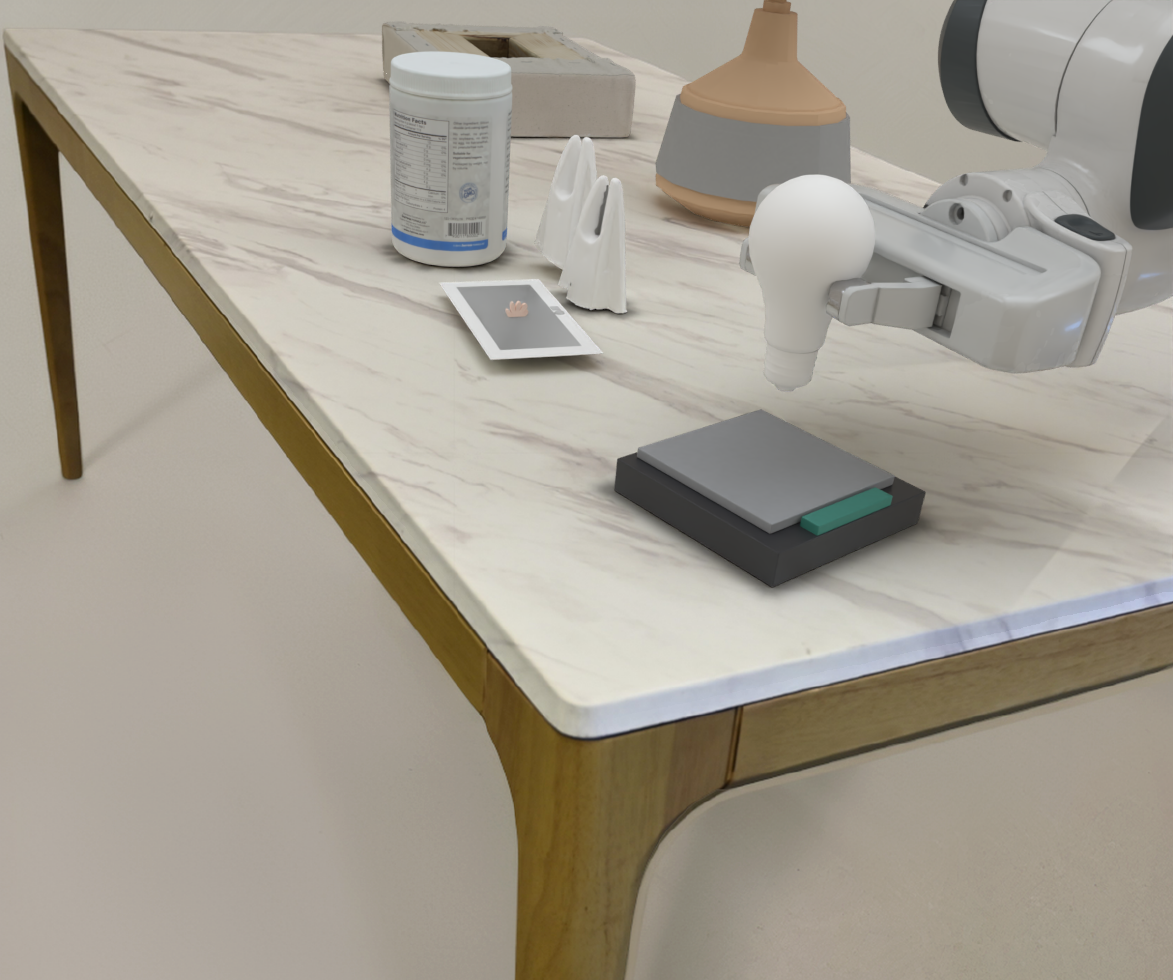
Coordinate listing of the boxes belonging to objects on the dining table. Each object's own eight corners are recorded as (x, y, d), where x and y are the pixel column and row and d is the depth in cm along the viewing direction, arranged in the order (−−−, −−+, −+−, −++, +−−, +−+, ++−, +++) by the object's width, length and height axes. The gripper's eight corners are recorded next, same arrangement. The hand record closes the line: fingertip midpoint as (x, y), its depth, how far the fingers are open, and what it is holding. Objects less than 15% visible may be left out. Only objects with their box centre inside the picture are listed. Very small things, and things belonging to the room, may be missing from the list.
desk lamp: (718, 171, 132) (772, -238, 112) (881, 210, 123) (970, -226, 104) (604, 207, 116) (644, -260, 97) (782, 255, 108) (864, -247, 88)
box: (378, 80, 159) (437, 138, 134) (378, 15, 155) (439, 62, 130) (547, 85, 167) (633, 140, 142) (551, 23, 163) (641, 69, 138)
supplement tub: (432, 227, 107) (433, 45, 99) (527, 249, 104) (537, 63, 96) (367, 253, 99) (363, 60, 91) (467, 279, 96) (472, 80, 88)
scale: (918, 523, 68) (929, 481, 66) (772, 587, 61) (780, 542, 59) (759, 441, 75) (766, 402, 74) (613, 490, 68) (617, 448, 67)
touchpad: (490, 375, 80) (491, 343, 79) (438, 296, 92) (438, 268, 91) (602, 368, 83) (604, 338, 82) (538, 292, 95) (539, 265, 93)
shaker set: (530, 264, 100) (538, 123, 94) (579, 262, 102) (589, 123, 96) (577, 316, 91) (589, 163, 85) (629, 313, 92) (645, 163, 86)
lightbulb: (764, 420, 61) (802, 197, 55) (706, 372, 65) (735, 161, 59) (866, 407, 63) (912, 192, 57) (803, 362, 68) (840, 158, 62)
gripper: (874, 148, 73) (682, 161, 66) (1161, 255, 58) (950, 284, 52) (853, 253, 76) (668, 275, 70) (1120, 378, 62) (917, 420, 55)
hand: (791, 280), depth 61 cm, fingers closed on lightbulb, 6 cm apart
